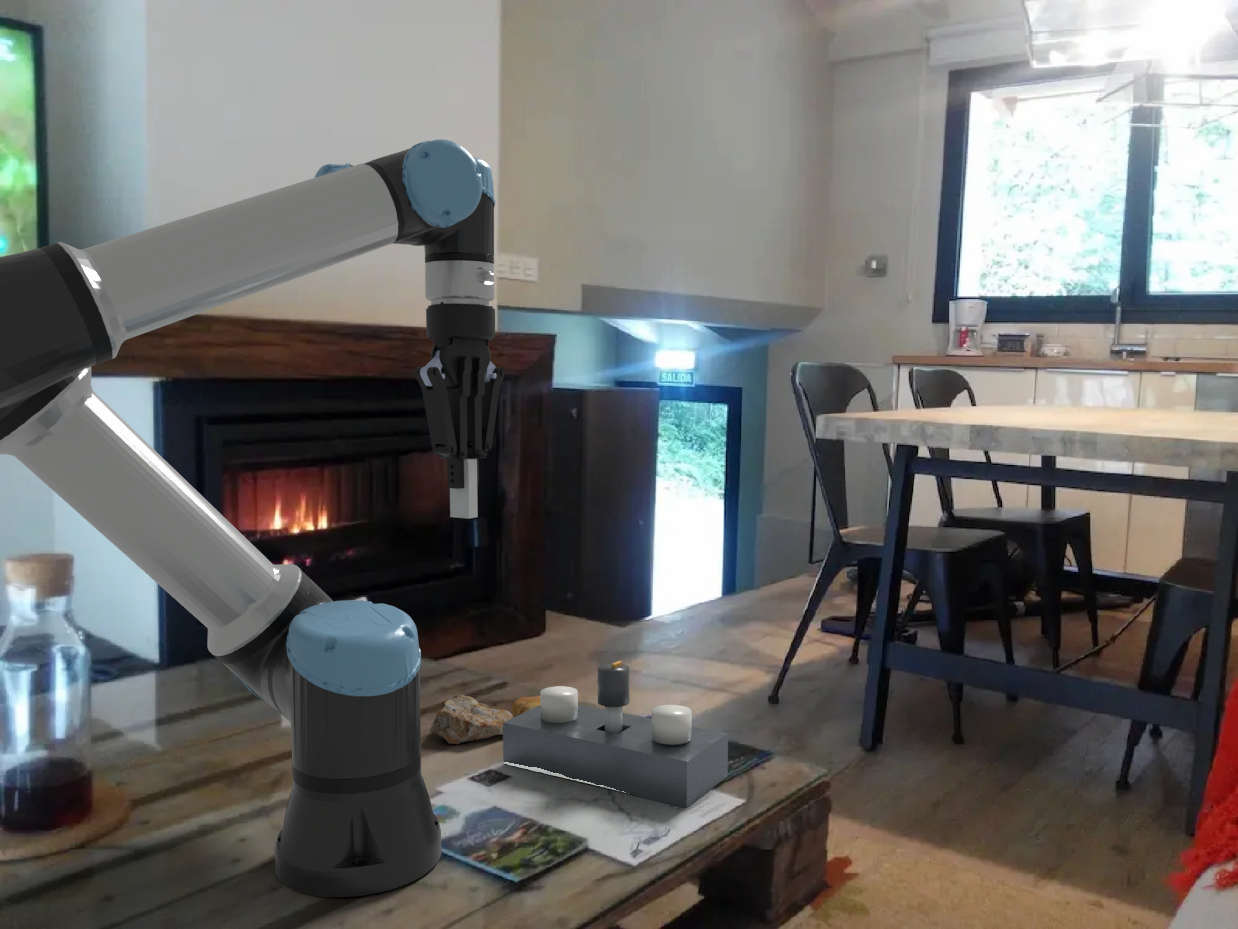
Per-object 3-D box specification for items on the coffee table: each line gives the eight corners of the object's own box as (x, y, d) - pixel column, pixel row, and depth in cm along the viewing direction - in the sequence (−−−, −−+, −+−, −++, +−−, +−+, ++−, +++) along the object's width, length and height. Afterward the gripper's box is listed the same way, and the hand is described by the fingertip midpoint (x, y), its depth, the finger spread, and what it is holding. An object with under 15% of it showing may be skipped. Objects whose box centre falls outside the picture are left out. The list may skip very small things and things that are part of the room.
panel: (727, 776, 119) (728, 733, 118) (686, 808, 110) (687, 761, 110) (552, 738, 131) (552, 699, 131) (503, 764, 122) (502, 722, 122)
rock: (427, 749, 128) (507, 736, 127) (421, 700, 129) (500, 687, 128) (447, 742, 137) (522, 730, 136) (441, 697, 138) (515, 684, 137)
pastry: (498, 717, 140) (498, 688, 140) (545, 709, 143) (545, 682, 143) (527, 738, 132) (527, 708, 131) (575, 729, 135) (575, 700, 135)
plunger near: (679, 787, 114) (680, 720, 113) (644, 779, 116) (644, 713, 115) (698, 774, 117) (698, 708, 117) (663, 767, 120) (663, 702, 119)
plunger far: (564, 763, 121) (564, 699, 121) (533, 756, 124) (532, 693, 123) (585, 751, 125) (585, 689, 124) (554, 744, 127) (554, 684, 127)
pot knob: (619, 748, 118) (618, 670, 117) (591, 742, 120) (591, 666, 119) (635, 738, 121) (635, 662, 120) (608, 733, 123) (608, 658, 122)
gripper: (448, 298, 108) (452, 526, 110) (523, 305, 119) (525, 512, 121) (393, 301, 112) (398, 521, 114) (471, 307, 123) (474, 508, 125)
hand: (463, 516), depth 117 cm, fingers closed
